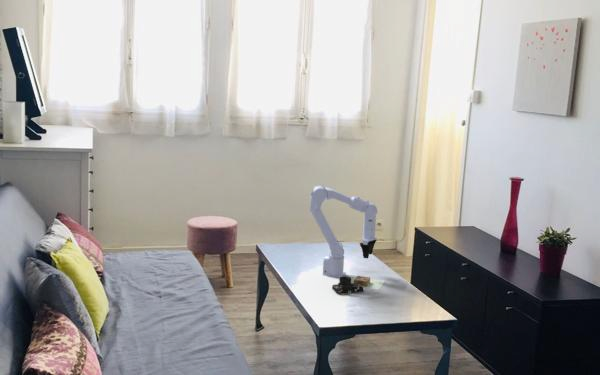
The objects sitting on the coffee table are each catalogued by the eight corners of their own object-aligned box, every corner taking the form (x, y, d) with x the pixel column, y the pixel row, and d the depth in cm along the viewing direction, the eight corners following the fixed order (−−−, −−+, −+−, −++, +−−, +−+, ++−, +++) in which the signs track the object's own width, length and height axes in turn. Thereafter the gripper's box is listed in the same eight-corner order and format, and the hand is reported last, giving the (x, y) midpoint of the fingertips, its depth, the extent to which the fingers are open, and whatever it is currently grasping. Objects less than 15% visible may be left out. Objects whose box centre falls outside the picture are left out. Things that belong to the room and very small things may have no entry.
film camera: (359, 275, 287) (364, 276, 277) (360, 292, 286) (365, 293, 276) (330, 276, 285) (333, 277, 275) (331, 293, 285) (334, 295, 275)
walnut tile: (357, 280, 295) (353, 285, 288) (357, 275, 294) (353, 279, 288) (370, 282, 293) (366, 286, 286) (370, 277, 292) (366, 281, 286)
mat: (339, 285, 289) (339, 284, 288) (347, 276, 302) (347, 275, 302) (378, 290, 283) (378, 289, 283) (385, 281, 296) (385, 280, 296)
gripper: (374, 232, 292) (372, 260, 294) (380, 226, 305) (379, 253, 308) (359, 230, 294) (357, 259, 296) (366, 224, 308) (364, 251, 310)
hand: (367, 256), depth 302 cm, fingers open, 7 cm apart
